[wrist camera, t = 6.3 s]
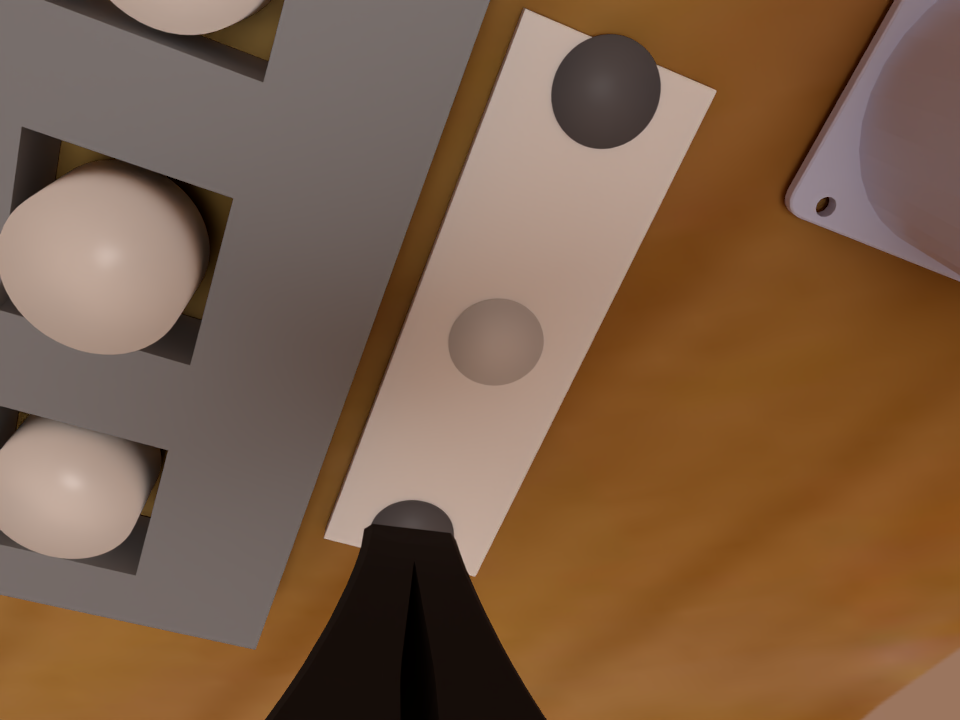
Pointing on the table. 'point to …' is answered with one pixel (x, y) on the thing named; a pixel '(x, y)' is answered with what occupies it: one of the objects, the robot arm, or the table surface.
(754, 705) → the table surface
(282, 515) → the button board
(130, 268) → the button
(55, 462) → the button
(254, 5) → the button
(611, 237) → the pattern card
